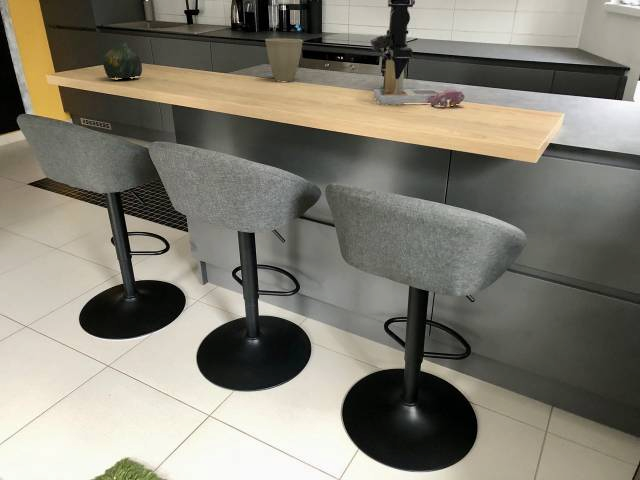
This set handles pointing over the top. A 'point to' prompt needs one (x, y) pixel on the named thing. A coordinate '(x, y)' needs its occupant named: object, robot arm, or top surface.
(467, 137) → the top surface
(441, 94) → the video game controller
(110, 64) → the squash
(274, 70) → the plant pot
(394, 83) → the skincare box
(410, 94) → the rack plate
